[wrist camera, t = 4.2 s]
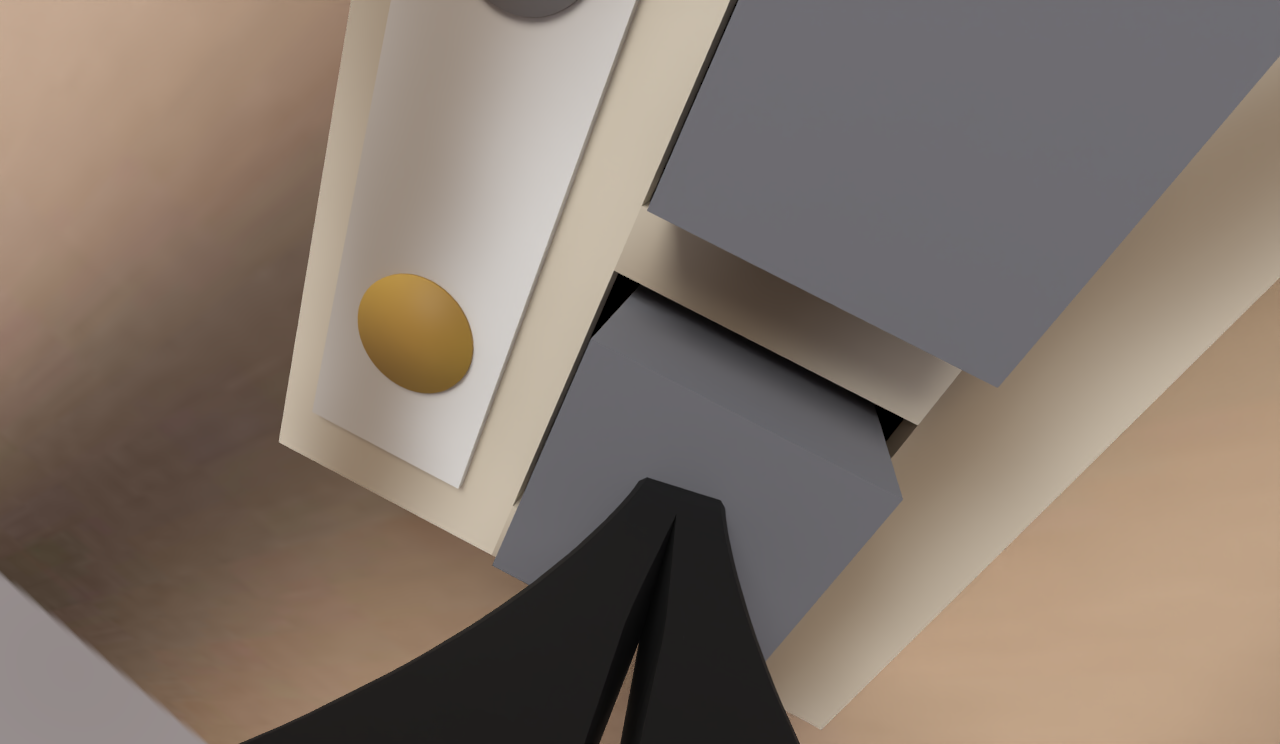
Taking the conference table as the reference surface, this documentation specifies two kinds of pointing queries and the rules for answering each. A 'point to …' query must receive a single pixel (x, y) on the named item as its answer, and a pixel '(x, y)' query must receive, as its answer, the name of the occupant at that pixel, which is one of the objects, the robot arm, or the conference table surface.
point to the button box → (694, 299)
